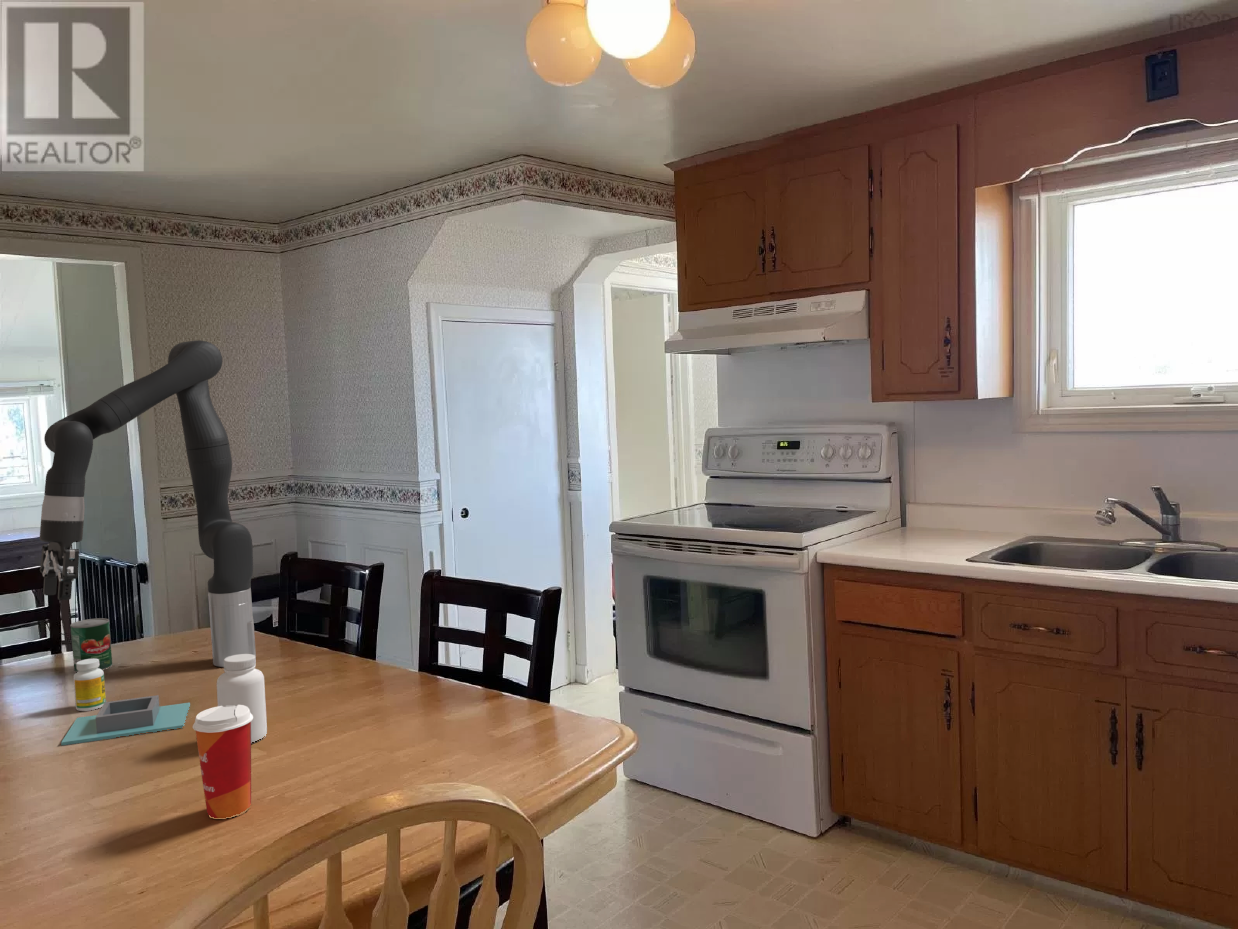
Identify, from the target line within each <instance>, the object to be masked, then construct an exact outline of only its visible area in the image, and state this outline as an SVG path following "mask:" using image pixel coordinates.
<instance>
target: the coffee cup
mask: <svg viewBox="0 0 1238 929" xmlns="http://www.w3.org/2000/svg"><path fill="white" fill-rule="evenodd" d="M252 719H253V715H252V714H251V713H250V710H249V708H248V707H247V706H244V705H238V706H235V705H226V707H223V706H218V705H217V706H213V707H210V708H207V709H204V710H202V711H200V712H198V713H197V715H196V716H195V720H194V723H193V724H192V729H193V730H194V731H195V735H196V736H195V737H196V742H197V750H198V759H199V765H200V772H201V779H202V787H203V795H204V801H205V807H206V813H208V814H207V816H208V815H210V816H211V817H214V818H226V817H231V816H233V815H236V814H240V813H241V812H243V811H245V810H246V809H247V808H249V807H250V805H251V806H252V743H251V721H252Z"/></svg>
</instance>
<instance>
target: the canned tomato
mask: <svg viewBox="0 0 1238 929" xmlns="http://www.w3.org/2000/svg"><path fill="white" fill-rule="evenodd" d="M69 627H70V635H71V647H72V658H73V659H72V660H73V669H74V670H73V671H75V672H74V673H76V672H78V670H77V666H76V663H77V662H79V661H81V660H86V659H99V664H100V665H99V667H98V668H99V669H102V670H103V669H106V668H108V667H110V668H112V667H113V666H114V664H113V657H112V656H113V654H112V644H111V640H112V639H111V630H110V619H108V618H102V617H99V618H89V619H83V620H79V621H75V622H73V623H71V624H70V626H69ZM112 665H113V666H112ZM111 666H112V667H111ZM108 669H109V668H108ZM106 670H107V669H106ZM103 671H104V670H103Z"/></svg>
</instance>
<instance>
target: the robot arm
mask: <svg viewBox="0 0 1238 929" xmlns="http://www.w3.org/2000/svg"><path fill="white" fill-rule="evenodd" d="M222 367H223V355H222V353H221V351H220V349H219V348H218V347H217V346H216V345H215V344H213V343H212V342H209V341H208V340H207V341H206V340H202V339H201V340H199V339H198V340H197V339H196V340H190V341H183V342H178V343H177V344H175V345H174V346H172V347H171V349H170V351H169V353H168V358H167V364H164V366H162V367H160V368H158V369H156V370H155V371H153V372H151V373H149V374H146V375H145V376H142V377H140V378H138V379H135V380H134V381H131V382H128V383H125V385H122V386H120V387H118V388H117V389H115V390H113V391H110V392H109V393H108V394H106V395H103V396H102V397H101V398H99V399H97V400H95V401H94V402H93V403H91V404H90V405H88V406H86V407H84V408H82V409H80V410H78V411H76V412H74V413H71V414H69V415H67V416H64V417H63V418H61V419H59V420H57V421H56V422H54V423H52V424H51V425H50V426H49V427H48V428H47V430H46V431H45V433H44V438H43V439H44V445H45V447H47V449H48V450H49V451H51V452H53V458H52V466H51V467H50V468H49V469H48V470H47V471H46V475H45V482H44V493H43V494H44V496H43V500H42V504H41V517H40V528H39V541H41V542H46V544H45V543H44V544H42V546H41V557H40V564H39V565H40V566H39V571H40V572H39V573H41V574H42V577H43V589H42V593H43V595H44V596H55V595H56V594H57V600H59V601H69V600H71V598H72V589H73V582H74V581H75V580H78V577H79V562H80V561H79V560H80V559H79V558H80V550H79V548H73V543H79V542H82V541H83V533H84V524H85V523H84V521H85V508H86V507H85V491H86V490H85V488H86V475H87V471H88V468H89V465H90V461H91V457H92V454H93V448H94V440H96V439H97V438H98V437H100V436H103V435H106V434H110V433H112V432H115V431H117V430H118V429H120V428H122V427H123V426H125V425H126V424H128V423H130V422H131V421H132V420H134V419H136V418H138V417H139V416H140V415H142V414H144V413H146V412H147V411H149V410H150V409H151V408H153V407H155V406H156V405H157V404H158V405H159V403H162V402H163V401H165V400H166V399H169V398H170V397H172V396H173V395H176V399H177V402H178V407H179V412H180V420H181V425H182V429H183V430H182V431H183V435H184V436H183V438H184V443H185V445H184V446H185V450H186V451H185V452H186V456H187V464H188V466H189V467H188V468H189V471H190V477H191V484H192V488H193V493H194V499H195V503H196V505H195V506H196V514H197V530H198V531H197V532H198V543H199V546H200V549H201V551H202V553H203V554H204V555H205V556H206V557H207V558H210V559H212V560H213V574H212V577H210V578H209V579H208V581H207V592H208V593H207V595H208V596H207V597H208V607H209V608H208V609H209V610H208V611H209V622H210V623H209V624H210V638H211V650H212V651H211V652H212V664H213V665H214V666H216V667H221V668H224V659H225V658H227V657H229V656H233V655H238V654H252V655H254V656H255V657H256V656H257V654H256V639H255V625H254V624H255V623H254V617H253V616H254V615H253V603H252V589H251V587H252V586H251V585H252V584H251V581H252V578H253V575H254V551H253V550H254V549H253V547H254V546H253V538H252V535H251V532H250V531H249V529H248V528H247V527H246V526H245V525H243V524H241V523H239V522H233V520H232V515H231V510H230V506H229V497H228V495H229V486H230V481H231V478H232V471H233V460H232V458H233V457H232V452H231V447H230V440H229V436H228V433H227V430H226V429H225V426H224V424H223V422H222V421H221V419H220V417H219V415H218V413H217V411H216V409H215V408H214V405H213V403H212V399H211V394H210V387H209V380H211V379H213V378H214V377H216V376H217V374H219V373H220V370H221V369H222ZM57 585H58V588H57ZM256 658H257V657H256Z"/></svg>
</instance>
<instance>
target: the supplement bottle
mask: <svg viewBox="0 0 1238 929" xmlns="http://www.w3.org/2000/svg"><path fill="white" fill-rule="evenodd" d="M99 665H100V664H99V659H86V660H81V661H79V662H77V663H76V666H77V670H78V672H77V673H76V672H74V674H73V688H74V701H75V709H76V710H77V711H80V712H92V711H95V709H96V710H99V709H101V707H102V706H103V704H104V703H105V702H107V699H106V698H107V696H106V682H105V673H104V670H102V669H99V668H98V667H99ZM98 708H99V709H98ZM91 710H92V711H91Z"/></svg>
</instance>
